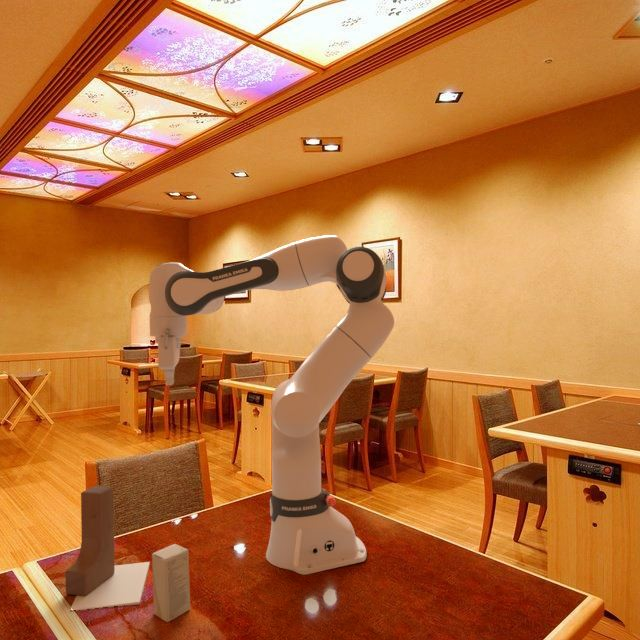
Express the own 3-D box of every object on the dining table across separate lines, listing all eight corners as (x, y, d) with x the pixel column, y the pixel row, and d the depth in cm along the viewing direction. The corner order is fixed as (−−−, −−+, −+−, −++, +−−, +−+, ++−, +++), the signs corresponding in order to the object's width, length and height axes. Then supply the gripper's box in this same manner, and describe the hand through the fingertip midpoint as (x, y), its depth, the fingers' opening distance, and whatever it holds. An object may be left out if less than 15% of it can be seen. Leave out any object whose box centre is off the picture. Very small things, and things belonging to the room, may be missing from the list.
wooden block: (84, 597, 96) (83, 501, 96) (64, 594, 97) (63, 500, 97) (115, 574, 104) (114, 486, 104) (96, 571, 105) (95, 484, 105)
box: (177, 601, 94) (176, 542, 94) (191, 609, 92) (190, 548, 92) (151, 614, 90) (150, 552, 90) (165, 623, 88) (164, 559, 88)
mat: (149, 564, 109) (149, 561, 109) (139, 604, 94) (139, 601, 94) (90, 570, 107) (90, 568, 107) (69, 613, 91) (69, 610, 91)
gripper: (179, 328, 116) (181, 389, 116) (183, 328, 136) (184, 379, 136) (150, 329, 115) (152, 390, 115) (158, 328, 135) (160, 380, 135)
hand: (169, 384), depth 125 cm, fingers closed
